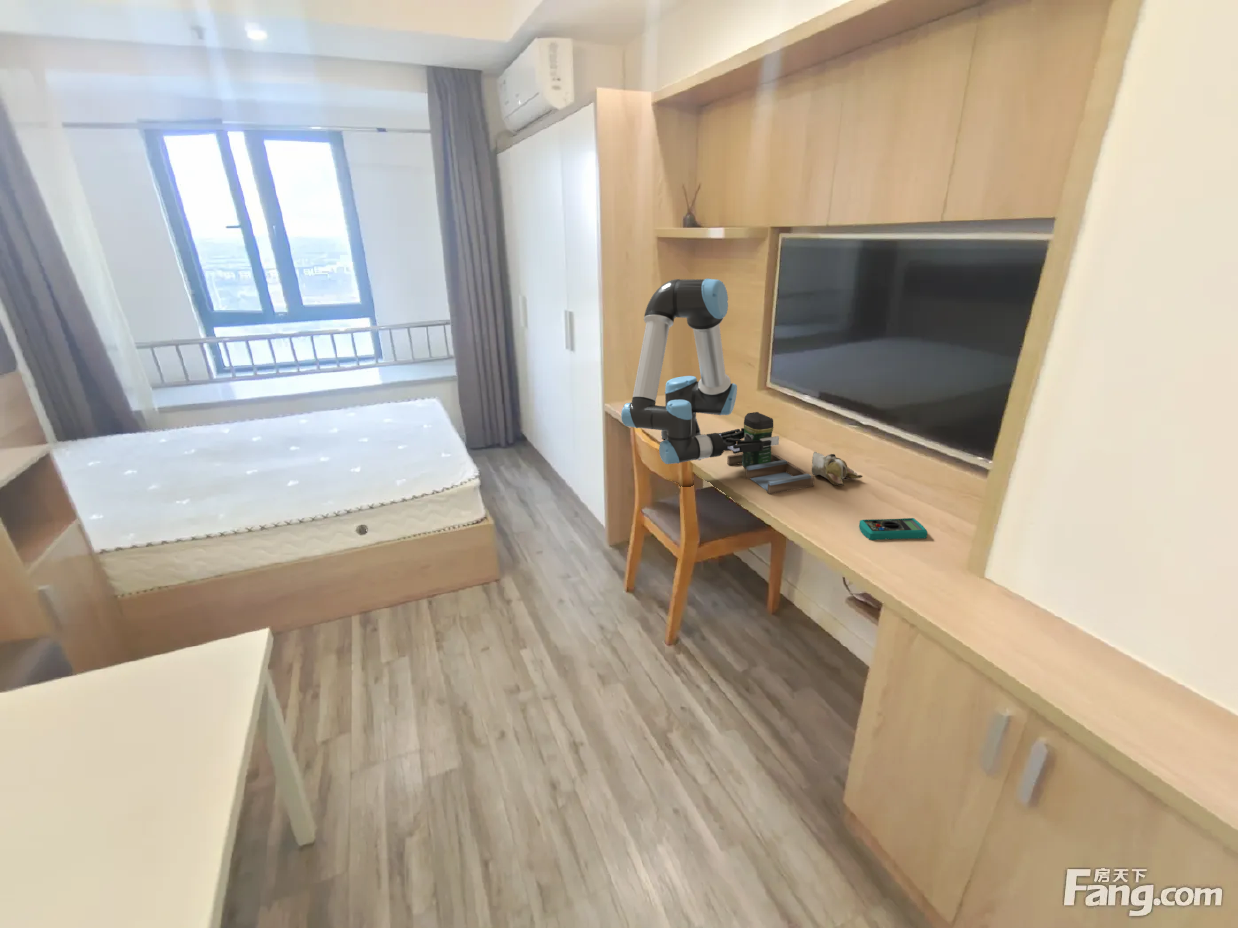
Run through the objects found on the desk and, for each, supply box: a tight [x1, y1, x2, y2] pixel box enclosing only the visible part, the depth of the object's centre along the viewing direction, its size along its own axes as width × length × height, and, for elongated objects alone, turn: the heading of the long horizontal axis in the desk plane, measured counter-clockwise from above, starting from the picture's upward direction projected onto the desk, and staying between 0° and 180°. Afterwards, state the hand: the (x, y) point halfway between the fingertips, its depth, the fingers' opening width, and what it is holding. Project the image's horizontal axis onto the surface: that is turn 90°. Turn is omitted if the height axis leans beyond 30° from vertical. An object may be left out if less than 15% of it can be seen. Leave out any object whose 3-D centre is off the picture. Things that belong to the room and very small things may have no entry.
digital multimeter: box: [858, 517, 928, 541], centre depth 141 cm, size 7×15×3 cm, turn 89°
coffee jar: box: [741, 411, 774, 469], centre depth 181 cm, size 10×8×19 cm
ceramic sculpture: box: [811, 451, 864, 486], centre depth 172 cm, size 11×9×15 cm
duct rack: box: [726, 451, 815, 495], centre depth 178 cm, size 26×15×4 cm, turn 18°
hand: (770, 436), depth 182 cm, fingers open, 8 cm apart
